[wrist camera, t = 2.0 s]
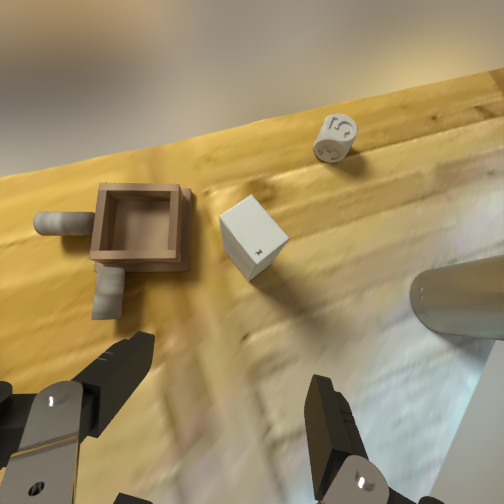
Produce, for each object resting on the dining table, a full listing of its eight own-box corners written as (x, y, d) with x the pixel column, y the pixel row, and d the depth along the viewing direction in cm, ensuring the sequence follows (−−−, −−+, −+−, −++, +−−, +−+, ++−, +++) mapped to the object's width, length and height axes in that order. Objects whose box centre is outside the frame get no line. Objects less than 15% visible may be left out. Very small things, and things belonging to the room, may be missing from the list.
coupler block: (191, 191, 36) (186, 177, 32) (187, 316, 31) (181, 316, 27) (63, 190, 34) (42, 175, 30) (41, 321, 30) (13, 322, 26)
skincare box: (271, 263, 34) (292, 239, 22) (248, 282, 33) (256, 267, 21) (245, 231, 35) (252, 192, 23) (221, 248, 34) (216, 216, 22)
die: (319, 132, 40) (330, 107, 35) (346, 144, 40) (362, 121, 35) (309, 155, 39) (320, 133, 34) (337, 167, 39) (352, 147, 34)
